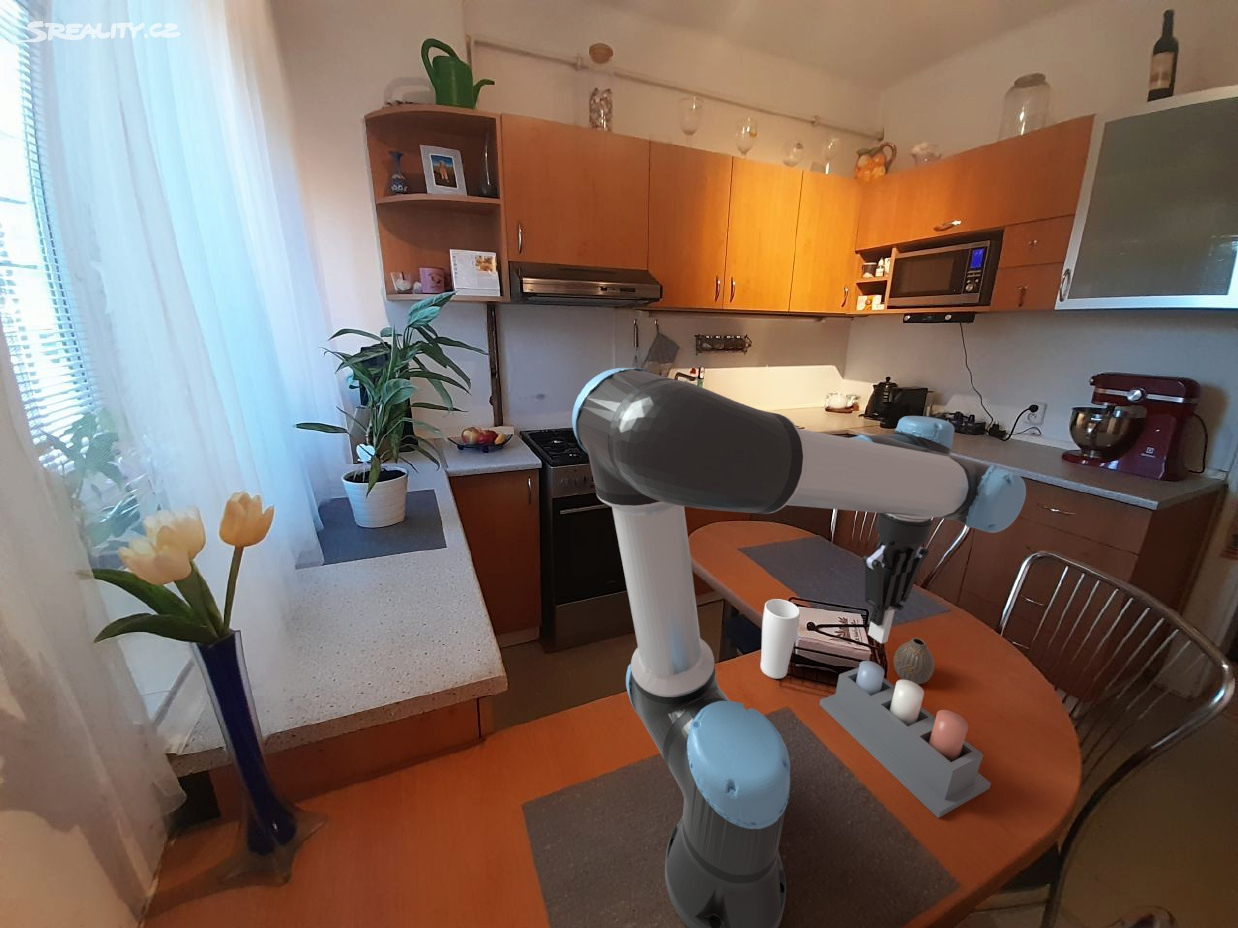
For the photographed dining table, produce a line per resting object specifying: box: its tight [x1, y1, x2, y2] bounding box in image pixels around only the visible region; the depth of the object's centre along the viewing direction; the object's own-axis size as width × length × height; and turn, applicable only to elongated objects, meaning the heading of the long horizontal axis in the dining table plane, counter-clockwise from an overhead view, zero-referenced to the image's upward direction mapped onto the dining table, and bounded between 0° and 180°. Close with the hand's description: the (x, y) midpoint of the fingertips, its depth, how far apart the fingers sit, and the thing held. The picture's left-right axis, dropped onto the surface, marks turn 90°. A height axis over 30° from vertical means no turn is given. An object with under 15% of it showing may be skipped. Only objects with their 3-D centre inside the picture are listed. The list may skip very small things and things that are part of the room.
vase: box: [893, 637, 935, 685], centre depth 96 cm, size 7×7×9 cm
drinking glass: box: [759, 598, 801, 680], centre depth 96 cm, size 7×7×15 cm
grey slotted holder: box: [819, 667, 992, 819], centre depth 82 cm, size 12×23×7 cm, turn 23°
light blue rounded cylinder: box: [856, 660, 885, 696], centre depth 87 cm, size 4×4×7 cm
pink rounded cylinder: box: [929, 709, 969, 762], centre depth 74 cm, size 4×4×7 cm
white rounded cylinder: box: [890, 679, 925, 726], centre depth 80 cm, size 4×4×7 cm
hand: (877, 637), depth 84 cm, fingers closed
